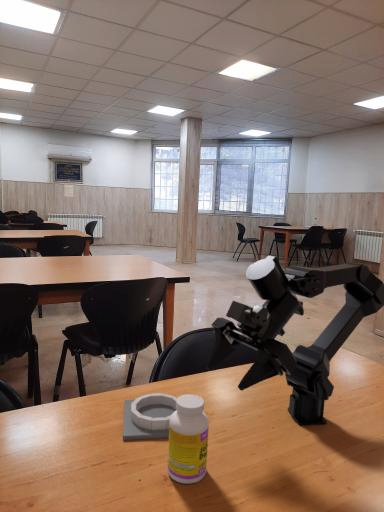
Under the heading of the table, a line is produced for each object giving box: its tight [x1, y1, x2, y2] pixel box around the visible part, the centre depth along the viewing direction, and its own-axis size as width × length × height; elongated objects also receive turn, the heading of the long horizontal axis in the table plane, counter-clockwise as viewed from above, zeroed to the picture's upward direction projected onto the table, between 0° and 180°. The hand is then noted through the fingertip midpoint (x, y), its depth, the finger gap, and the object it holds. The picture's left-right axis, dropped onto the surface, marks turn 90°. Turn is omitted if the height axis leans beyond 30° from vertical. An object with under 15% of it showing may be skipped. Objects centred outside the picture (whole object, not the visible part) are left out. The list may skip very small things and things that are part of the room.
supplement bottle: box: [167, 393, 210, 484], centre depth 64 cm, size 7×7×13 cm
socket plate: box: [122, 392, 178, 441], centre depth 81 cm, size 14×14×3 cm
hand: (222, 378), depth 69 cm, fingers open, 9 cm apart
